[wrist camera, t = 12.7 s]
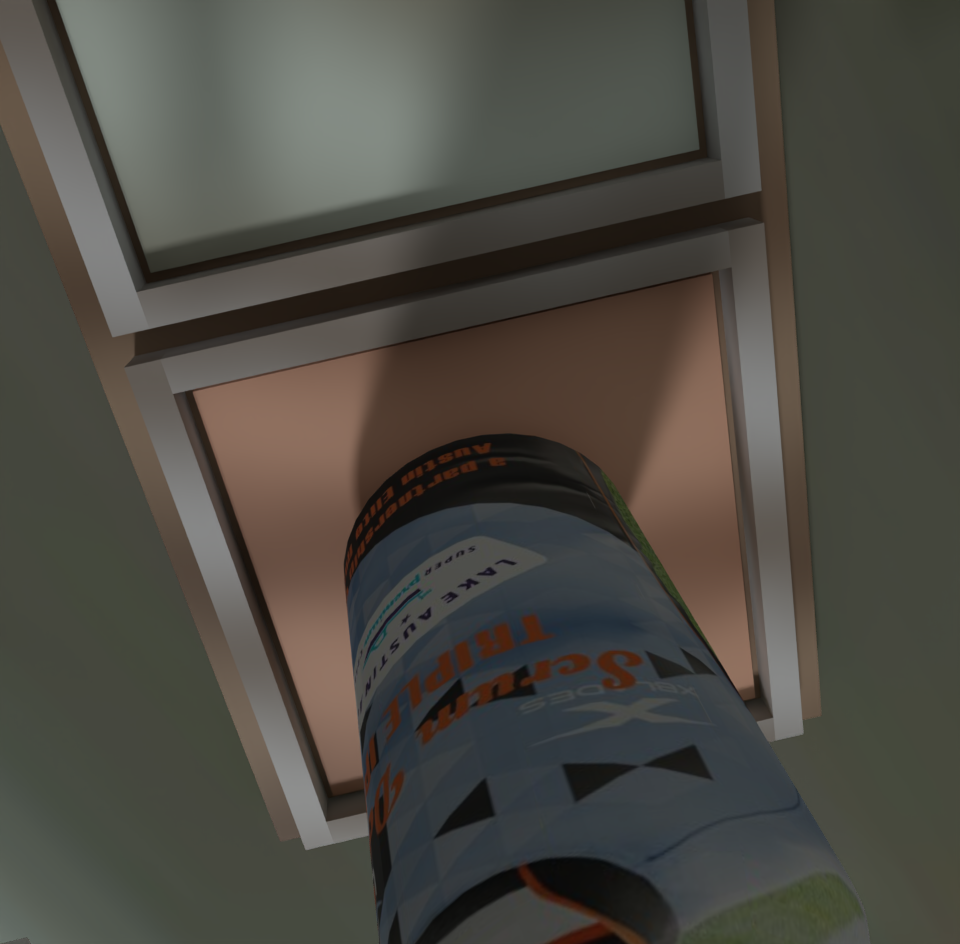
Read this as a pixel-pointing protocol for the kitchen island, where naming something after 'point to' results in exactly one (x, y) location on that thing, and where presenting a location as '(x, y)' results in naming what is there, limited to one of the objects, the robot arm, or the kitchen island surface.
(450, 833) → the beverage can
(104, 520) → the kitchen island surface
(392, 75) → the framed panel board
